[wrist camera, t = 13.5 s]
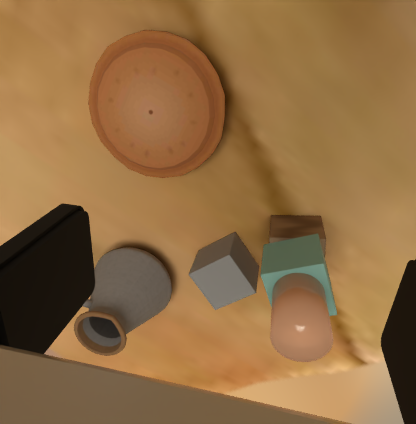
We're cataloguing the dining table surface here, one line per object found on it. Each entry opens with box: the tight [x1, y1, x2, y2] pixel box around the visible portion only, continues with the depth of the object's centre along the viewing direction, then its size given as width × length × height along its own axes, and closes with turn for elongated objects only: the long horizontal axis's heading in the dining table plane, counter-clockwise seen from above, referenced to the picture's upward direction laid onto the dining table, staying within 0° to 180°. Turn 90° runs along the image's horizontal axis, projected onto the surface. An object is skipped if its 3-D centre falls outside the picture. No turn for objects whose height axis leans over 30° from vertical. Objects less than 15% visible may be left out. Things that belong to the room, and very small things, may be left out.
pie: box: [88, 30, 225, 178], centre depth 40 cm, size 16×16×5 cm
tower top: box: [261, 234, 337, 316], centre depth 37 cm, size 6×6×6 cm
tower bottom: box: [269, 215, 326, 258], centre depth 43 cm, size 6×6×6 cm
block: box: [189, 232, 259, 310], centre depth 46 cm, size 6×6×6 cm
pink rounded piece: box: [271, 273, 333, 362], centre depth 32 cm, size 5×5×6 cm
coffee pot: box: [74, 247, 172, 356], centre depth 45 cm, size 21×12×15 cm, turn 55°
